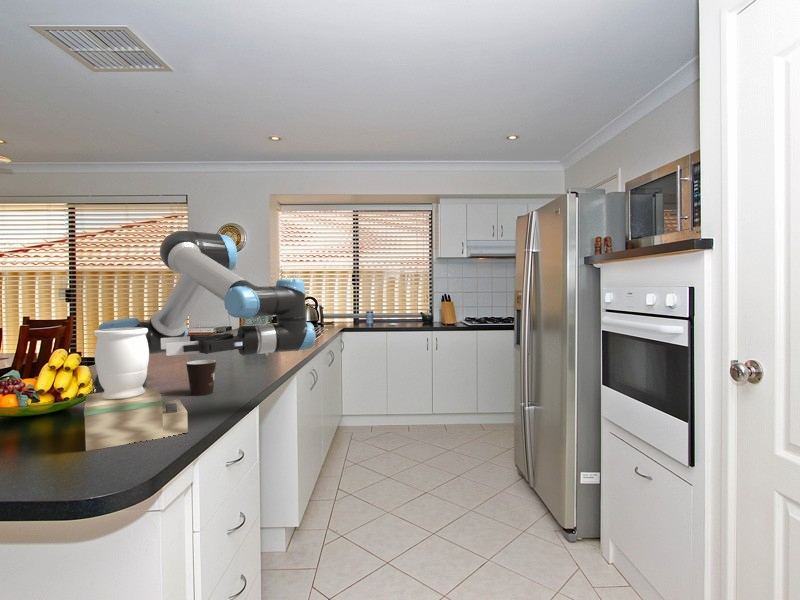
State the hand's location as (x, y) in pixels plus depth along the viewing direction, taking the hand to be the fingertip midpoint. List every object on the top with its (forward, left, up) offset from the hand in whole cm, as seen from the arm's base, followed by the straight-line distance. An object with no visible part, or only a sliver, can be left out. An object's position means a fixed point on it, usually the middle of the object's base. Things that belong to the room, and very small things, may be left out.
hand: (163, 346), depth 105 cm
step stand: (+2, -5, -19) cm, 20 cm away
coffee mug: (-38, -4, -20) cm, 43 cm away
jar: (+4, -7, -11) cm, 13 cm away
